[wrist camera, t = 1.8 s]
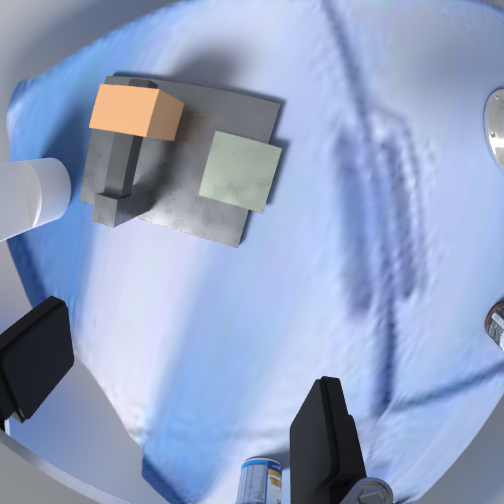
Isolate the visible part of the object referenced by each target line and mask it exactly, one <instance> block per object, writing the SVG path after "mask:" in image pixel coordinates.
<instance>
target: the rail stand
mask: <svg viewBox="0 0 504 504" xmlns="http://www.w3.org/2000/svg"><path fill="white" fill-rule="evenodd" d="M104 84H107V85H122V86H133V87H143V88H152V89H159V90H161V91H163V92H165V93H167V94H169V95H171V96H172V97H174V98H176V99H178V100H180V101H181V102H183V103H185V104H184V107H183V110H182V114H181V117H180V121H179V124H178V128H177V131H176V135H175V139H174V141H171V140H164V139H157V138H149V137H143V136H138V135H132V134H126V133H121V132H115V131H108V130H102V129H95V128H92V132H91V136H90V141H89V146H88V151H87V156H86V161H85V167H84V173H83V180H82V187H81V194H80V201H82V202H85V203H88V204H92V205H94V208H93V217H92V220H93V221H96V222H99V223H102V224H105V225H108V226H111V227H116V226H118V225H120V224H122V223H124V222H126V221H128V220H130V219H133V218H138V219H141V220H145V221H148V222H151V223H155V224H158V225H161V226H165V227H168V228H171V229H175V230H178V231H181V232H185V233H188V234H191V235H195V236H198V237H201V238H205V239H208V240H211V241H215V242H218V243H221V244H225V245H228V246H231V247H235V248H238V246H239V243H240V240H241V236H242V233H243V229H244V226H245V222H246V219H247V215H248V212H249V210H253V211H256V212H259V213H263V211H264V207H265V204H266V201H267V197H268V194H269V191H270V187H271V184H272V181H273V178H274V174H275V171H276V168H277V164H278V161H279V158H280V154H281V151H282V148H279V147H276V146H272V145H269V141H270V137H271V134H272V131H273V127H274V124H275V121H276V118H277V114H278V111H279V108H280V104H278V103H275V102H271V101H267V100H263V99H260V98H256V97H252V96H247V95H243V94H239V93H234V92H230V91H225V90H220V89H215V88H209V87H204V86H198V85H192V84H186V83H179V82H172V81H164V80H155V79H145V78H134V77H119V76H107V77H106V80H105V83H104Z"/></svg>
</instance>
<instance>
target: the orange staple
mask: <svg viewBox="0 0 504 504" xmlns="http://www.w3.org/2000/svg"><path fill="white" fill-rule="evenodd" d="M184 104H185V103H183V102H181V101H180V100H178V99H176V98H174V97H172V96H171V95H169V94H167V93H165V92H163V91H161V90H159V89H152V88H143V87H133V86H122V85H107V84H100V87H99V91H98V94H97V98H96V101H95V105H94V109H93V113H92V116H91V121H90V125H89V128H95V129H102V130H108V131H115V132H121V133H126V134H132V135H138V136H143V137H149V138H157V139H164V140H171V141H174V139H175V135H176V131H177V128H178V124H179V121H180V117H181V114H182V110H183V107H184Z"/></svg>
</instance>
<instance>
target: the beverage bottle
mask: <svg viewBox="0 0 504 504" xmlns="http://www.w3.org/2000/svg"><path fill="white" fill-rule="evenodd" d="M281 483H282V465H281V464H280V463H279V462H278V461H276V460H273V459H269V458H252V459H249V460H246V461H245V462H244V463H243V464H242V467H241V476H240V482H239V489H238V495H237V501H236V503H235V504H281Z"/></svg>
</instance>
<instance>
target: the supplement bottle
mask: <svg viewBox="0 0 504 504" xmlns="http://www.w3.org/2000/svg"><path fill="white" fill-rule="evenodd" d="M485 331H486V333H487V334H488V335H489V336H490V337H491V338H492V340H493V341H494V342H495V343H496V344H497V345H498V346H499V347H500V348H501V349H502V351H503V352H504V302H502V303H499V304H497V305H496V306H494V307H493V309H492V310H491V311H490V312H489V314H488V316H487V318H486V321H485Z"/></svg>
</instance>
